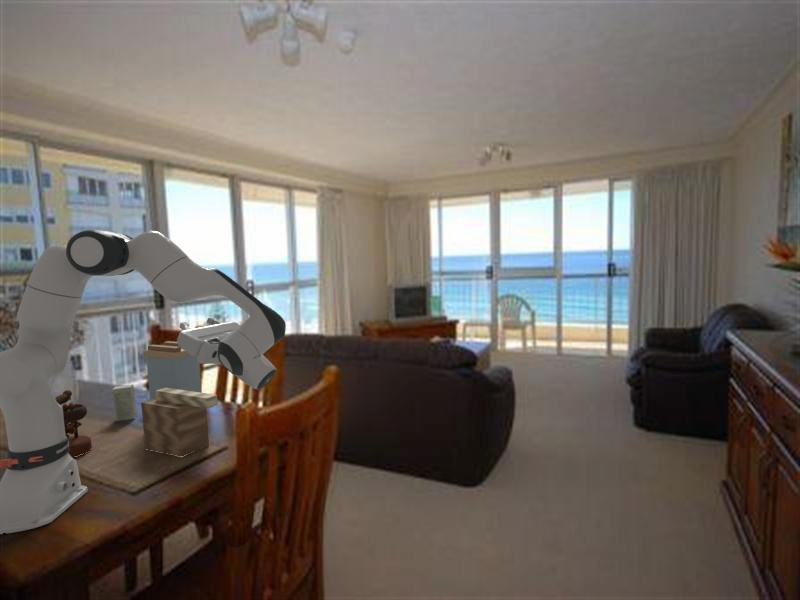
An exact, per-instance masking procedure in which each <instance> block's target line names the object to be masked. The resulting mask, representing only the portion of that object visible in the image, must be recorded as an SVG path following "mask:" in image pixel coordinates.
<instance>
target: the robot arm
mask: <svg viewBox="0 0 800 600" xmlns="http://www.w3.org/2000/svg"><path fill="white" fill-rule="evenodd" d="M134 271H136V272H137V273H139V274H140V275H142V277H144V279H145V280H146V281H147V282H148V283H149V284H150V285H151V286H152V287H153V288H154V289H155V291H157V292H158V293H159V294H160V295H161V296H163V297H164V298H165V299H166V300H169V301H171V302H176V303H186V302H192V301H196V300H199V299H201V298H206V297H209V296H210V297H211V296H221V297H222V296H223V297H225V298H227V299H228V300H229V301H231V302H232V303H233V304H235V305H236V306H237V307H238V308H240V309H241V310H242V311H244V312H245V313H246V314H248V316H249V317H248V318H247V319H246V320H245V321H243V322H242V323H241V324H239V323H238V322H235V321H234V320H233V321H228V322H223V321H221V320H218V319H215V317H208V318H207V319H206V324H208V325H206V326H200V327H196V328H190V324H189V323H188V322H187V321H182V322H180V324H179V329H180V332H179V334H178V337H177V339H176V342H177V343H178V345H179V346H180V347H181V348H182V349H183V350H185V351H186V352H187V353H189V354H190V355H192V356H194V357H198V358H197V361H198V362H199V363H200V364H204V365H205V364H206V365H207V364H208V365H209V364H211V365H222V366H223V368H225V369H226V370H227V371H228V372H229V373H231V374H232V375H233V376H235V377H236V378H237V379H239V380H240V382H241V381H242V382H243V383H244V384H246V385H247V386H249V387H250V388H252V389H255V390H261V389H263V388H265V387H266V386H267V385H268V384H270V382H271V381H273V379H274V377H275V376H276V373H277V368H276V367H275V365H274V364H273V363H272V362H271V361H270V360H269V359H268V358H267V357H266V356H265V355H264V354H265V353H266V352H267V351H268V350H269V349H271V347H274V345H275V346H276V344H277V343H279V342H280V341H282V340H283V339H284V338H285V335H286V330H287V329H286V327H287V325H286V321H285V319H284V318H283V317H282V316H281V315H280V314H279V312H276V310H274V309H272V308H271V307H269V306H268V305H266V304H265V303H263V302H262V301H260V300H259V299H258V298H257V297H255V296H254V295H253V294H251V293H250V292H249V291H247V290H246V289H245V287H243V286H241V284H239V283H238V282H236V281H235V280H234V279H233V278H231V277H230V276H229V275H227V274H226V273H225V272H222V271H221V270H220V269H218V268H215V267H209V268H208V267H204V266H203V265H199V264H197V263H196V262H195V261H193V259H191V258H190V257H189V256H188V255H187V253H185V252H184V251H183V250H182V249H181V247H179V246H178V245H177V244H176V243H174V241H172V240H171V239H170V238H168V237H167V236H166V235H165V234H163V233H162V232H159V231H157V230H148V231H144V232H141V233H140V234H137V236H135V237H134V238H132V236H129V235H127V234H124V233H120V232H117V231H113V230H101V229H86V230H83V231H80V232H77V233H76V234H74V235H73V236H72V237H71V238H70V239H69V240H68V242H67V244H66V245H64V244H63V245H62V244H58V245H57V244H56V245H51V246H49V247H47V248H45V249H44V251H43V252H42V253H41V255H40V256H39V258H38V260H37V261H36V264H35V265H34V268H33V269H32V271H31V274H30V276H29V278H28V281H27V283H26V286H25V290H24V293H23V296H22V298H21V301H20V304H19V308H18V310H17V312H16V313H17V314H16V318H17V321H18V323H19V331H18V337H17V338H18V339H17V341H16V344H15V345H14V346H13V347H11V348H8V349H6V350H3V351H1V352H0V411H1V413H2V416H3V419H4V421H5V422H4V423H5V429H6V436H7V443H8V444H7V445H8V448H7V451H6V455H5V458H1V460H0V469H6V470H5V471H4V474H3V475H2V478H1V479H0V535H4V534H3V533H6V534H12V533H18V532H24V531H27V530H32V529H36V528H39V527H42V526H44V525H45V526H46V525H48V524H50V523H52V522H53V521H54V520H56V519H57V518H58V517H59V516H61V515H62V513H64V512H65V511H66V510H67V509H69V508H70V507H71V506H72V505H73V504H75V503H76V502H77V501H79V499H81V498H82V497H83V496H84V495H86V494H87V492H88V491H89V490H88V486H86V485H82V482H81V478H80V471H79V466H78V462H77V460H76V459H75V458H72V457H71V456H70V454H69V453H68V452H69V441H68V437H67V436H65V427H64V417H63V409H62V404H61V405H60V404H58V403H57V401H56V400H55V398H56V397H55V396H54V393H53V390H52V387H51V382H52V380H54V379H57V378H58V377H59V376H61V374H62V373H63V372H64V371H65V369H66V367H68V365H69V362H70V360H71V359H70V358H71V354H70V345H71V336H72V335H71V334H72V329H73V325H74V321H75V320H76V319H75V318H76V315H77V313H78V309H79V307H80V303H81V300H82V297H83V294H84V291H85V289H86V285H87V283H88V281H89V280H90V279H92V277H94V276H99V277H113V276H123V275H127V274H129V273H132V272H134Z"/></svg>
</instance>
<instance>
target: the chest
mask: <svg viewBox="0 0 800 600" xmlns="http://www.w3.org/2000/svg"><path fill="white" fill-rule="evenodd" d="M143 357H146V367H147V368H146V369H147V379H148V389H149V390H148V391H149V400H151V399H154V398H156V391H157V390H160V389H163V388H172V389H179V390H186V391H193V392H200V393H203V391H202V378H201V377H202V376H201V367H200V364H201V363H199V362H198V361H197V358H198V357H194V356H192V355H190V354H189V353H187V352H186V351H185V350H183V349H182V348H181V347H180V346H179V345H178V343H177V341H172V340H171V341H170V340H168V341H164V342H163V345H162V344H149V345H147V349H145V350H143Z"/></svg>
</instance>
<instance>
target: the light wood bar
mask: <svg viewBox="0 0 800 600" xmlns="http://www.w3.org/2000/svg"><path fill="white" fill-rule="evenodd" d="M156 399H157V400H159V401H165V402H171V403H177V404H183V405H190V406H196V407H202V408H206V409H210V408H213V407H216V406H217V405H219V404H218V403H219V402H218V395H217V394H215V393H214V394H213V393H205V392H202V393H200V392H193V391H186V390H179V389H172V388H163V389H160V390H157V391H156Z"/></svg>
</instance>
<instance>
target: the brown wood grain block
mask: <svg viewBox="0 0 800 600" xmlns="http://www.w3.org/2000/svg"><path fill="white" fill-rule="evenodd" d="M141 414H142V415H141V416H142V425H143V427H142V428H143V438H144V448H145V449H148V450H153V451H158V452H163V453H168V454H173V455H177V456H184V455H186V454H189V453H191V452H193V451H196V450H198V449H200V448H202V449H204V448H206V447H208V446H210V441H209V430H208V429H209V428H208V427H209V426H208V413H207V408H202V407H196V406H190V405H183V404H177V403H171V402H165V401H159V400H157V399H156V398H154V399H151V400H150V399H148V400H145V401H142V402H141ZM205 446H206V447H205ZM203 447H204V448H203ZM145 449H144V450H145ZM148 450H147V451H148ZM200 450H201V449H200ZM153 451H152V452H153ZM198 451H199V450H198ZM196 452H197V451H196Z"/></svg>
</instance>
